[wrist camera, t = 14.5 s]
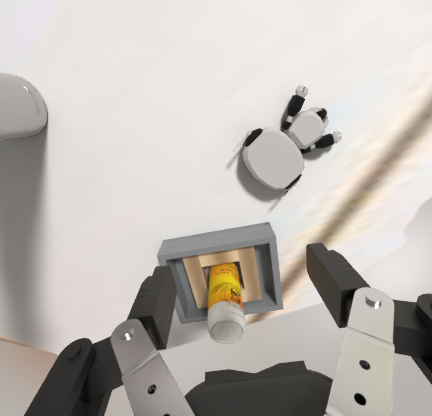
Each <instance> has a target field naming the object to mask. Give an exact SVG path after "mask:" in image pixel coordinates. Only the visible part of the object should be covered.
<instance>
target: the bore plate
mask: <svg viewBox="0 0 432 416" xmlns="http://www.w3.org/2000/svg"><path fill="white" fill-rule="evenodd" d="M182 259H183V262H184V265H185V268H186V272H187V275H188V278H189V281H190V284H191V288H192V291H193V294H194V297H195V300H196V304H197V307H198V309H200V308H206V307H208V295H209V281H208V277H207V273H206V270H205V266H211V265H217V264H224V263H230V262H236V261H239V262H240V267H241V272H242V278H243V280H242V281H239V282H240V289H241V296H242V302H247V301H254V300H261V299H262V297H261V291H260V284H259V277H258V271H257V264H256V258H255V251H254V246H248V247H242V248H236V249H230V250H224V251H218V252H212V253H206V254H200V255H194V256H188V257H182Z"/></svg>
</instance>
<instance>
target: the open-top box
mask: <svg viewBox="0 0 432 416" xmlns="http://www.w3.org/2000/svg"><path fill="white" fill-rule="evenodd" d="M248 246H254V251H255V258H256V264H257V271H258V277H259V284H260V291H261V297H262V299H261V300H254V301H247V302H242V303H243V310H244V315H246V314H253V313H260V312H267V311H274V310H281V309H283V302H282V292H281V283H280V273H279V264H278V254H277V245H276V236H275V234H274V232H273V230H272V228H271V225H270V223H269V222H267V223H261V224H255V225H249V226H244V227H238V228H232V229H226V230H220V231H215V232H209V233H203V234H197V235H192V236H186V237H180V238H174V239H168V240H163V243H162V245H161V248H160V250H159V253H158V255H157V257H158V260H159V263H160V265H161V266H164V265H170V267H171V270H172V274H173V277H174V280H175V283H176V287H177V296H176V301H175V307H176V309H177V312H178V315H179V318H180V320H181V323H182V324H183V323H190V322H197V321H204V320H208V307H206V308H200V309H198V307H197V304H196V300H195V297H194V294H193V291H192V288H191V284H190V281H189V278H188V275H187V272H186V268H185V265H184V262H183V259H182V257H188V256H194V255H200V254H206V253H212V252H218V251H224V250H230V249H236V248H242V247H248ZM233 263H234V264H235V265H236V266H237V268H238V274H239V281H242V280H243V278H242V272H241V267H240V262H239V261H236V262H233ZM211 266H212V265H211ZM211 266H205V270H206V273H207V277H208V281H209V271H210V267H211Z"/></svg>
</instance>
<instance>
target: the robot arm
mask: <svg viewBox="0 0 432 416" xmlns="http://www.w3.org/2000/svg"><path fill="white" fill-rule="evenodd" d="M46 121H47V110H46V106H45V103H44V100H43V99H42V97H41V95H40V94H39V92H38V91H37V90H36V88H35V87H33V86H32V85H31V84H30V83H29V82H27V81H26V80H25V79H23V78H21V77H18V76H15V75H11V74H6V73H0V140H4V139H13V138H21V137H29V136H34V135H36V134H38V133H40V132H41V131H42V130H43V128H44V127H45V125H46ZM306 256H307V271H308V275H309V277H310V279H311V281H312V282H313V284H314V286H315V287H316V289H317V291H318V293H319V294H320V296H321V298H322V300H323V301H324V303H325V305H326V307H327V308H328V310H329V312H330V313H331V315H332V317H333V318H334V320H335V322H336V324H337V326H338V327H339V328H344V327H345V331H344V335H343V340H342V344H341V348H340V353H339V357H338V361H337V365H336V370H335V374H334V378H333V380H332V379H331V378H329V377H327V376H325V375H323V374H321V373H319V372H316V371H312V370H308V369H306V366H305V364H304V361H296V362H288V363H279V364H277V365H274V366H272V367H270V368H267V369H265V370H262V371H260V372H258V373H248V372H242V371H235V370H230V369H228V370H219V371H211V372H205V381H204V382H202V383H201V384H199V385H197V386H195V387H194V388H193V389H191V390H190V391H189V392H188V393H187V394H186V395H185V396H183V394H182V392H181V390H180V389H179V387H178V385H177V383H176V382H175V380H174V378H173V376H172V374H171V373H170V371H169V369H168V367H167V366H166V364H165V362H164V360H163V359H162V357H161V355H160V353H159V352H158V350H163V349H166V346H167V341H168V336H169V331H170V326H171V321H172V316H173V311H174V306H175V301H176V296H177V287H176V283H175V280H174V277H173V274H172V270H171V267H170V265H164V266H157V267H156V268H155V270H154V273H153V275H152V276H149V277H147V278H146V279H145V281H144V282H143V283H142V284H141V287H140V289H139V292H138V294H137V296H136V297H137V298H136V299H135V301H134V304H133V306H132V308H131V311H130V313H129V316H128V318H127V320H126V321H124V322H122V323H121V324H120V325H118V326H117V327H116V328H115V330H114V331H113V333H112V335H111V336H110V337H108V338H106V339H104V340H101V341H99V342H96V343H94V344H92V342H91V341H90V340H89V339H87V338H81V339H78V340H76V341H74V342H72V343H71V344H69V345H68V346H67V347H66V348H65V349H64V350H63V351H62V352H61V353H60V355H59V356H58V358H57V360H56V361H55V363H54V365H53V367H52V368H51V370H50V372H49V373H48V375H47V377H46V379H45V380H44V382H43V384H42V385H41V387H40V389H39V391H38V392H37V394H36V396H35V397H34V399H33V401H32V403H31V404H30V406H29V408H28V410H27V411H26V413H25V415H24V416H104V414H105V411H106V408H107V404H108V402H109V398H110V395H111V392H112V390H113V389H115V388H117V387H120V386H122V385H124V387H125V390H126V393H127V395H128V399H129V401H130V405H131V407H132V410H133V413H134V416H392V408H393V379H394V353H398V354H403V355H408V356H411V357H412V359H413V360H414V361H415V363H416V364H417V365H418V367H419V368H420V369H421V371H422V372H423V374H424V375H425V376H426V378H427V379H428V380H429V382H430V383H431V384H432V294H423V295H421V296H419V297H418V299H417V302H407V301H398V300H393V299H391V298H390V297H389V296H388V295H387V294H386V293H384V292H382V291H380V290H378V289H374V288H371V287H370V286H369V285H368V284H367V283H366V282H365V280H363V278H362V277H361V276H360V275H359V274H358V272H357V271H356V270H355V269H354V268H352V266H351V265H350V264H349V263H348V261H347V260H346V259H345V258H344V257H343V256H342V255H341V254H339V253H338V252H336V251H334V250H329V251H328V250H327V248H326V247H325V246H324V245H323V244H322V243H314V244H308V245H307V247H306Z"/></svg>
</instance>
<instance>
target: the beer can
mask: <svg viewBox="0 0 432 416" xmlns="http://www.w3.org/2000/svg"><path fill="white" fill-rule="evenodd" d="M207 328H208V331H209V333H210V336H211V338H212V339H213V340H214V341H216V342H218V343H221V344H231V343H235V342H237V341H239V340H240V339H241V338H242V336H243V334H244V330H245V318H244V310H243V303H242V296H241V289H240V282H239V274H238V268H237V266H236V265H235V264H234V263H233V262H230V263H224V264H217V265H212V266H211V267H210V271H209V295H208V320H207Z"/></svg>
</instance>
